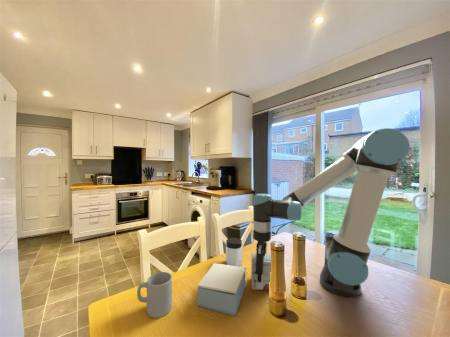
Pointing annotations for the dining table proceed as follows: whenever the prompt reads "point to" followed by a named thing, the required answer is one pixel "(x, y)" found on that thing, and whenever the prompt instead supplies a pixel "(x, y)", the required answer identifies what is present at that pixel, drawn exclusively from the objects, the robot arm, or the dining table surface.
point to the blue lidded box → (221, 299)
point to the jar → (234, 252)
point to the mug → (157, 294)
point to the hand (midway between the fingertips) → (261, 281)
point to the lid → (223, 278)
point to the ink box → (265, 271)
